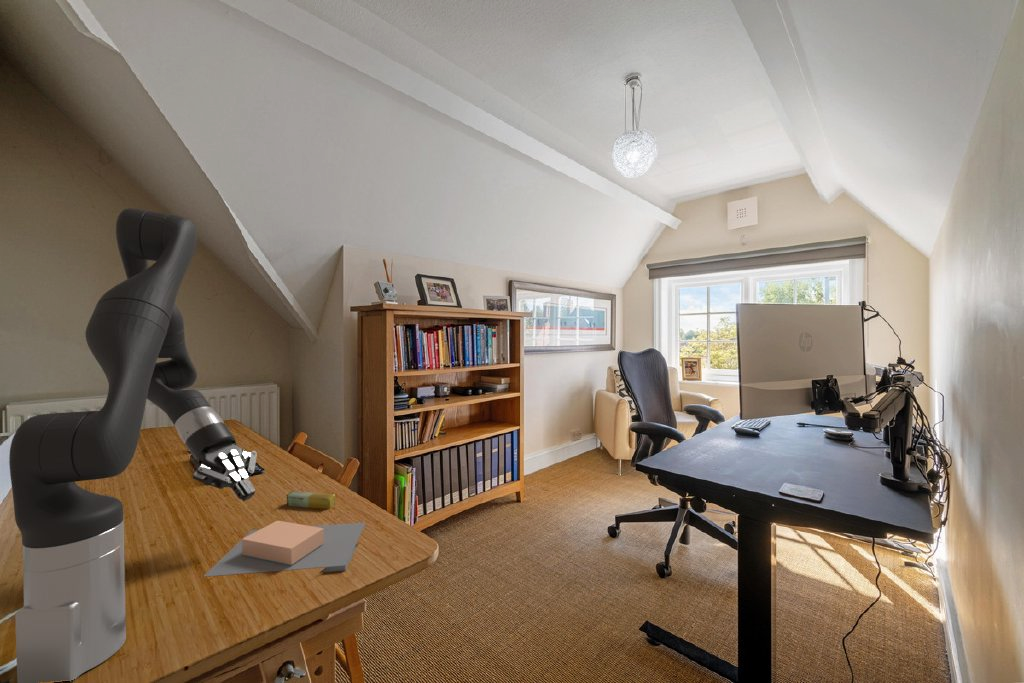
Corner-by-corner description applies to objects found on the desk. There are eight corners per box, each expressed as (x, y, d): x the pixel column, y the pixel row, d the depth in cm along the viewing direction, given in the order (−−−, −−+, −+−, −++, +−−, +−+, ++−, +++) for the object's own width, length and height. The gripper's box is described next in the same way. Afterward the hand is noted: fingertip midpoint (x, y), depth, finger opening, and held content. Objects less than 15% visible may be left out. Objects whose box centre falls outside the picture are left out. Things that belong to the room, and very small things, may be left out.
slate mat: (345, 570, 74) (345, 565, 74) (203, 582, 71) (202, 576, 71) (366, 526, 91) (366, 522, 91) (251, 534, 88) (251, 529, 87)
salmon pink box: (241, 539, 77) (291, 548, 74) (277, 520, 85) (323, 528, 81) (242, 556, 77) (291, 566, 74) (277, 535, 85) (324, 544, 81)
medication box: (286, 510, 100) (285, 494, 100) (293, 505, 103) (293, 490, 102) (329, 514, 98) (329, 498, 98) (336, 509, 101) (336, 493, 100)
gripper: (179, 428, 78) (227, 498, 75) (243, 415, 91) (286, 474, 87) (161, 453, 80) (207, 523, 76) (226, 437, 92) (268, 496, 89)
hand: (249, 497), depth 82 cm, fingers closed
